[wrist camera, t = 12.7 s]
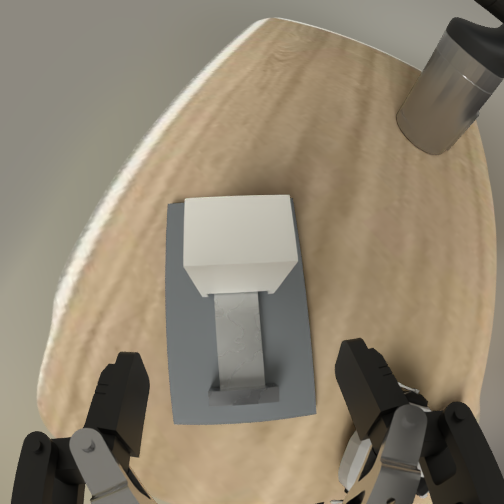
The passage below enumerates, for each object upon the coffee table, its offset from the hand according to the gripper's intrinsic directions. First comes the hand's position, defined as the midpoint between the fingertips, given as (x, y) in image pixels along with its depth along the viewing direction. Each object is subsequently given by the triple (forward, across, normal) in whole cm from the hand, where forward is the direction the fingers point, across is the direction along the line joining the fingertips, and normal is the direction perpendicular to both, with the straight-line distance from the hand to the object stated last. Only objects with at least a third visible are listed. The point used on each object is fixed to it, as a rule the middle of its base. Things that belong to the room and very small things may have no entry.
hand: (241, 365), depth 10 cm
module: (+14, 0, +4) cm, 14 cm away
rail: (+12, 0, +6) cm, 14 cm away
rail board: (+12, 0, +6) cm, 14 cm away
